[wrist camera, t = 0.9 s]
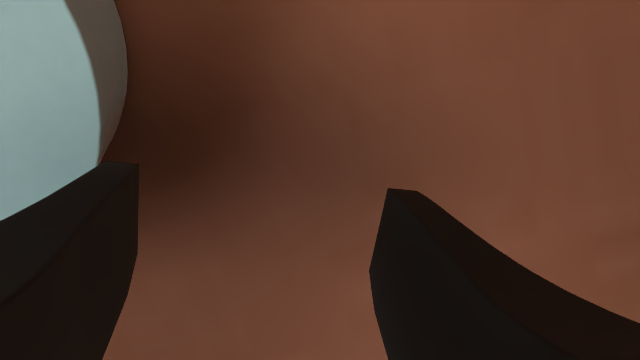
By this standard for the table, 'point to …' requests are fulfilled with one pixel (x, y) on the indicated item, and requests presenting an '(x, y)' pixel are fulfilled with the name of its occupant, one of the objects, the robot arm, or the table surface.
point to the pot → (56, 93)
